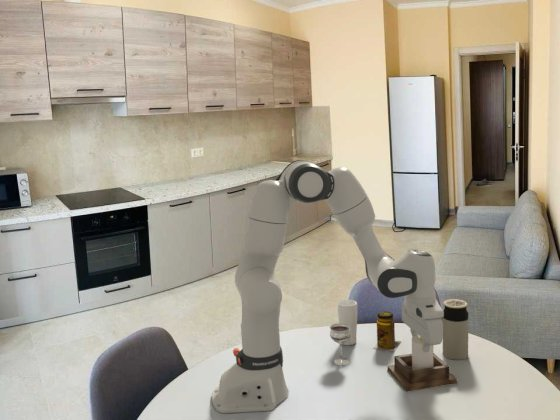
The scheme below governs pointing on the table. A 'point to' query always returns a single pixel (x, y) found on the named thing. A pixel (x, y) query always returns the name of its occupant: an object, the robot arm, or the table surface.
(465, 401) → the table surface
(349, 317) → the drinking glass
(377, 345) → the condiment
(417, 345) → the candle
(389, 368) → the candle holder
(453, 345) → the travel mug
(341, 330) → the wineglass
